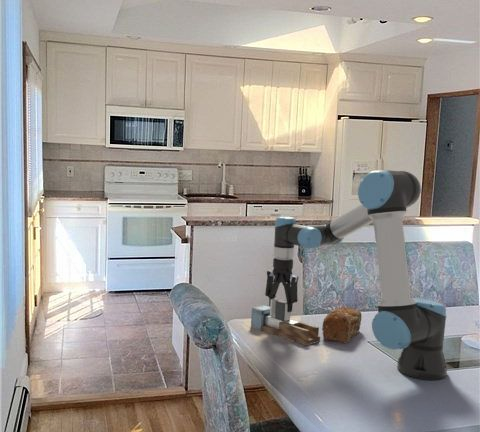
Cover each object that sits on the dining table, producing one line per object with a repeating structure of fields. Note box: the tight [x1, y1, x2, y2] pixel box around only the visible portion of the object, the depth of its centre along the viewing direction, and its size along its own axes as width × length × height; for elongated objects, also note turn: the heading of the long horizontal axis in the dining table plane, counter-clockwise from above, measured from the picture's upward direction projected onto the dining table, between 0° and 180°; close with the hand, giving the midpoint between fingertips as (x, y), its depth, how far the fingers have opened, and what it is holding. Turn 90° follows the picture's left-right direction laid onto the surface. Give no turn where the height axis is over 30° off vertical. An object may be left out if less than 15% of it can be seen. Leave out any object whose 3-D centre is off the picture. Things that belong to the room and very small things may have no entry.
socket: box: [250, 304, 270, 331], centre depth 219 cm, size 5×8×8 cm, turn 137°
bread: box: [322, 306, 362, 344], centre depth 213 cm, size 19×11×10 cm, turn 153°
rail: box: [260, 318, 321, 346], centre depth 212 cm, size 27×8×5 cm, turn 47°
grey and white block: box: [263, 298, 300, 329], centre depth 213 cm, size 16×4×11 cm, turn 47°
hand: (279, 317), depth 213 cm, fingers open, 6 cm apart
